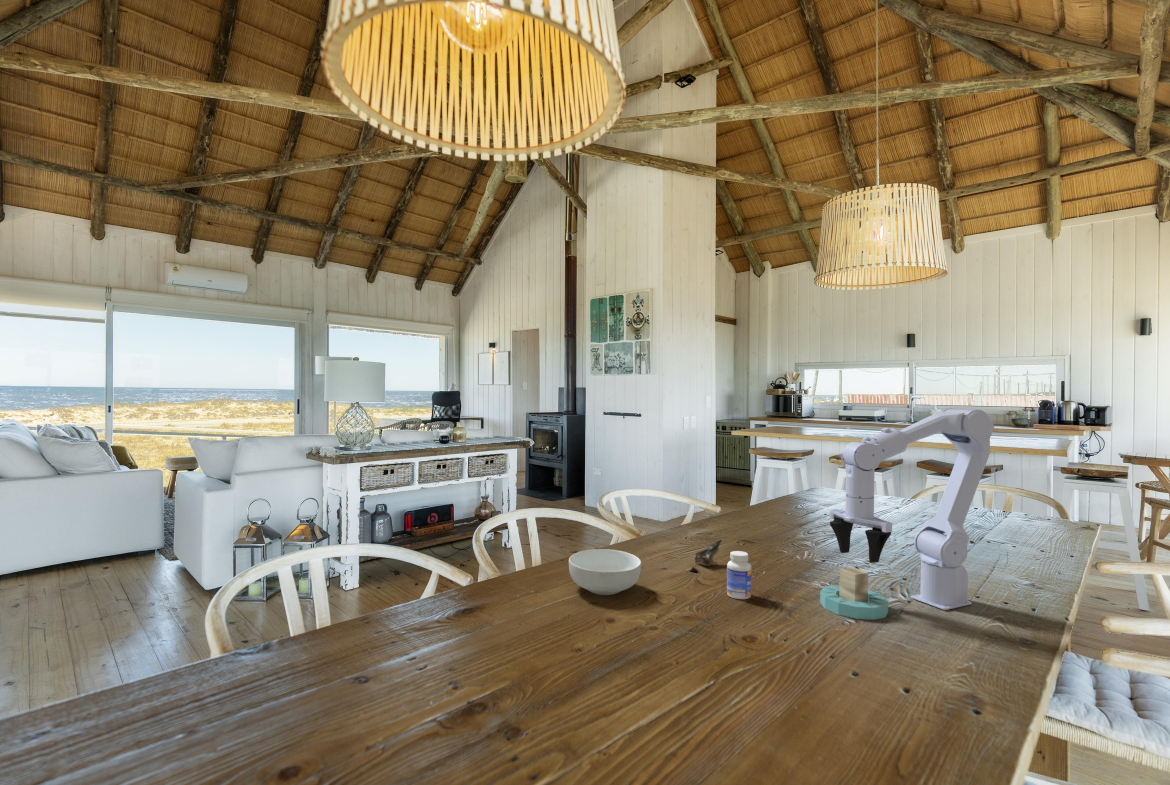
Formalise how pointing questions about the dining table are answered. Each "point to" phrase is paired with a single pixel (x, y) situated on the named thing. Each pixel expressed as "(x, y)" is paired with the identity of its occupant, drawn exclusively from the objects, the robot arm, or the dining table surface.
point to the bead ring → (854, 604)
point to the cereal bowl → (604, 570)
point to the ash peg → (853, 585)
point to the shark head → (708, 555)
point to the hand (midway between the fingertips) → (859, 557)
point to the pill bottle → (739, 576)
